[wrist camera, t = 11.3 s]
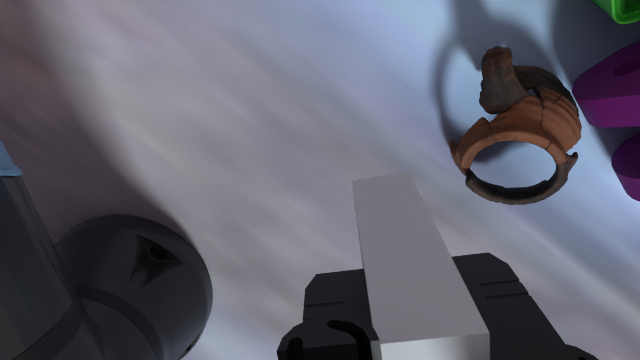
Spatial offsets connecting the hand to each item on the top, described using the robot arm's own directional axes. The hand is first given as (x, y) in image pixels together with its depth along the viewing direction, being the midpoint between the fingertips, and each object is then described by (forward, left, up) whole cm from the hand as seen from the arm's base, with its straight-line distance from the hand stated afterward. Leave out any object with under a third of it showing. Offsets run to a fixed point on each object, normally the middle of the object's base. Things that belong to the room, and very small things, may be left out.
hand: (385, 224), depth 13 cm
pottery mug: (+12, -4, -27) cm, 30 cm away
